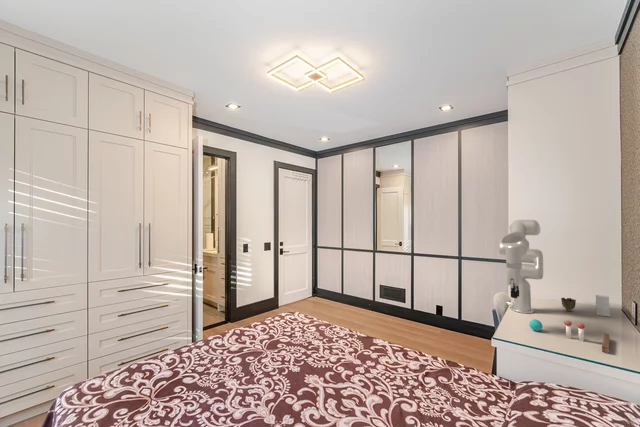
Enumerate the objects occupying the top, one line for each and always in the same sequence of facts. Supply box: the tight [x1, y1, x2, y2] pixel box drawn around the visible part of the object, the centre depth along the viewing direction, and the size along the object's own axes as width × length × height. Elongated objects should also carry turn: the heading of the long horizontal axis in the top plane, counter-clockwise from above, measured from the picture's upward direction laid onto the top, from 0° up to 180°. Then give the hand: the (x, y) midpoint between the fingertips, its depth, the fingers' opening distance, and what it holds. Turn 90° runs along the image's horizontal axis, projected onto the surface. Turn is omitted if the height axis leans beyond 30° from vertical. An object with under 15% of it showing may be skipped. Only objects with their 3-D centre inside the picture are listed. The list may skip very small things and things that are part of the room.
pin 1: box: [564, 320, 573, 339], centre depth 151 cm, size 3×3×9 cm
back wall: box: [601, 332, 611, 354], centre depth 141 cm, size 2×20×3 cm, turn 133°
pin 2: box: [576, 322, 586, 342], centre depth 147 cm, size 3×3×9 cm
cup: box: [560, 297, 577, 313], centre depth 190 cm, size 8×7×8 cm
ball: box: [528, 318, 543, 332], centre depth 161 cm, size 6×6×6 cm
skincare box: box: [595, 294, 611, 317], centre depth 181 cm, size 6×4×12 cm
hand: (515, 296), depth 168 cm, fingers open, 3 cm apart
